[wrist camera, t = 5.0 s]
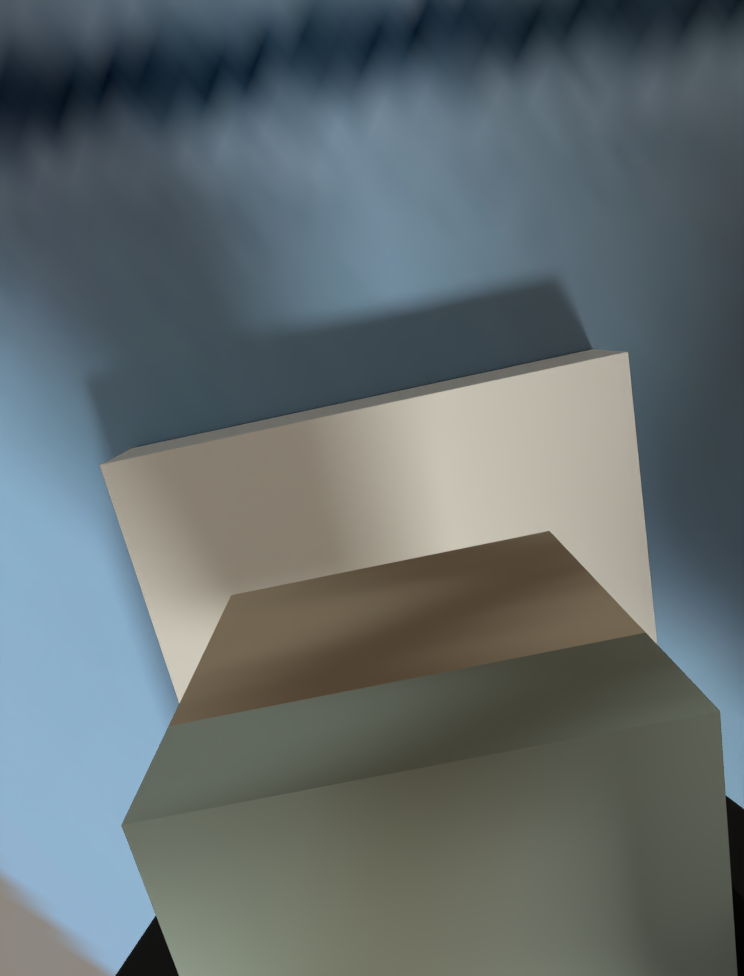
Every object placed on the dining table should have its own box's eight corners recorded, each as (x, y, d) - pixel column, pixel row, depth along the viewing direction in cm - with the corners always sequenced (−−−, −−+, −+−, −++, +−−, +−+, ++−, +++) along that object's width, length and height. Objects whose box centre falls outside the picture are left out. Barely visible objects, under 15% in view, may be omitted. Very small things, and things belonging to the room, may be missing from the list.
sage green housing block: (549, 530, 9) (719, 710, 5) (598, 887, 11) (756, 1251, 7) (231, 594, 9) (122, 825, 5) (330, 937, 11) (312, 1325, 7)
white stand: (593, 348, 15) (627, 351, 13) (635, 721, 18) (669, 767, 16) (131, 447, 16) (99, 465, 14) (242, 797, 18) (229, 852, 16)
